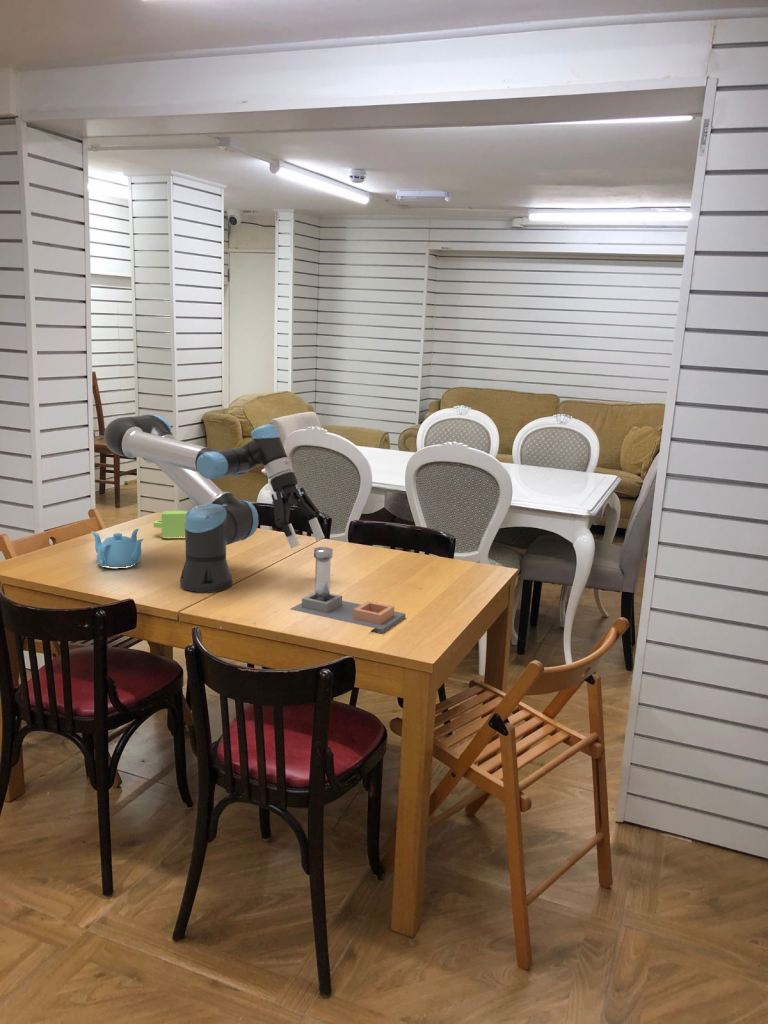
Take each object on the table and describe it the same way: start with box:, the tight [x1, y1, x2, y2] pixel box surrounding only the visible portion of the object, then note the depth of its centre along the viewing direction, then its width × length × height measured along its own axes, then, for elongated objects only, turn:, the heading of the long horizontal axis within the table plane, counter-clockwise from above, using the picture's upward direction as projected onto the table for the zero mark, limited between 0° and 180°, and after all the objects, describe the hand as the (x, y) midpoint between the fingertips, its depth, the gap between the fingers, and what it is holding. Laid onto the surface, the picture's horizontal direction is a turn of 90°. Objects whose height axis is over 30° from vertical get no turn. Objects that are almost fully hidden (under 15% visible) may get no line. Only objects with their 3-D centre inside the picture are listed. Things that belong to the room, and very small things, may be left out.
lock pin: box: [313, 546, 334, 602], centre depth 212 cm, size 5×5×16 cm
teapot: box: [90, 528, 144, 567], centre depth 246 cm, size 15×15×10 cm
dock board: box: [290, 591, 406, 635], centre depth 210 cm, size 28×14×4 cm, turn 63°
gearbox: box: [153, 510, 188, 538], centre depth 285 cm, size 18×10×10 cm, turn 104°
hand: (308, 542), depth 226 cm, fingers open, 13 cm apart
